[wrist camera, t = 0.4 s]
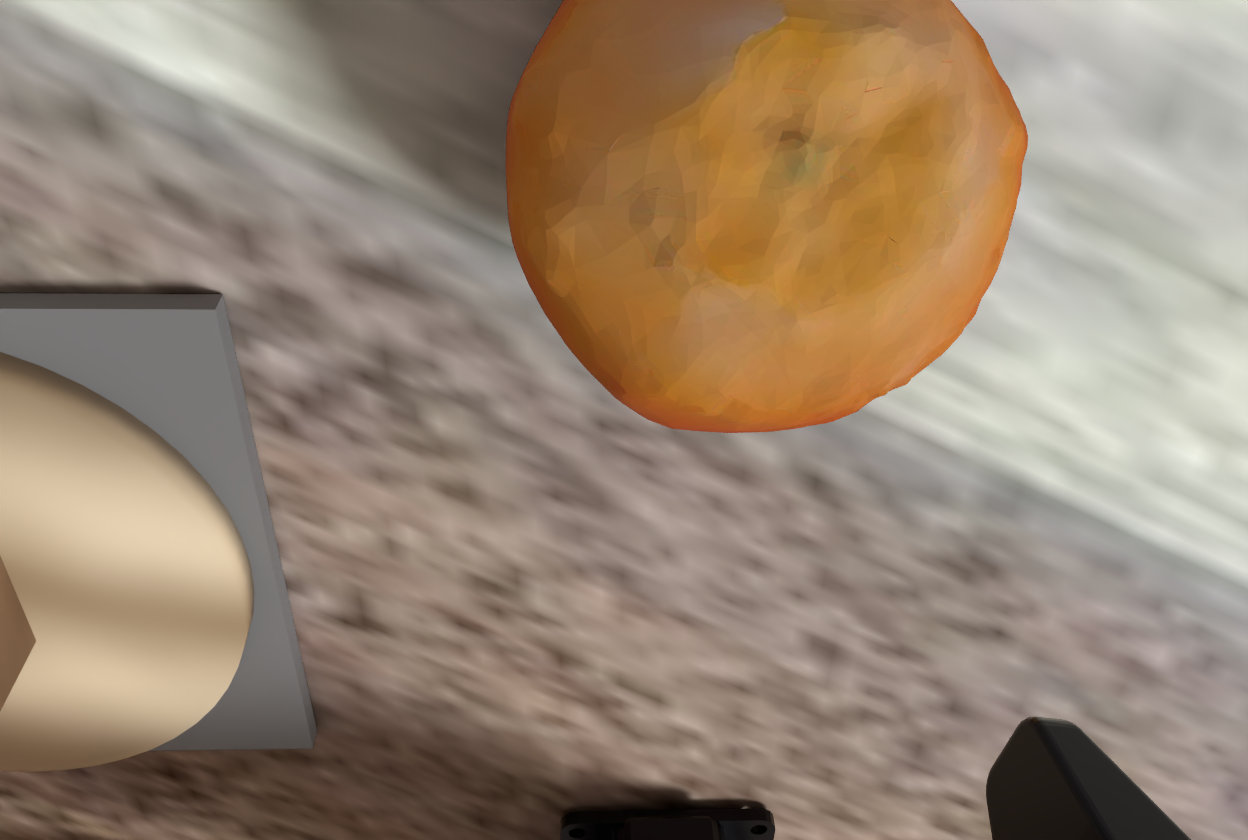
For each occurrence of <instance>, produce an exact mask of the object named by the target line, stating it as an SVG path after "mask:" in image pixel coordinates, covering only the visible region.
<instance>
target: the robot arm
mask: <svg viewBox="0 0 1248 840" xmlns="http://www.w3.org/2000/svg"><path fill="white" fill-rule="evenodd" d="M986 798H987V806H988V812H989V819H990V826H991V833H992V839H993V840H1191V839H1190V838H1189V837H1188V836H1187V835H1186V834H1185V833H1184V832H1183V831H1182V830H1181V829H1180V828H1179V827H1178V826H1177V825H1176V824H1175V823H1174V822H1173V821H1172V820H1171V819H1170V818H1169V817H1168V816H1167V815H1166V814H1165V813H1164V812H1163V811H1162V810H1161V809H1160V808H1159V807H1158V806H1157V805H1156V804H1155V803H1154V802H1153V801H1152V800H1151V799H1150V798H1149V797H1148V796H1147V795H1146V794H1145V793H1144V792H1143V791H1142V790H1141V789H1140V788H1139V787H1138V786H1137V785H1136V784H1135V783H1134V782H1133V781H1132V780H1131V779H1130V778H1129V777H1128V776H1127V775H1126V774H1125V773H1124V772H1123V771H1122V770H1121V769H1120V768H1119V767H1118V766H1117V765H1116V764H1115V763H1114V762H1113V761H1112V760H1111V759H1110V758H1109V757H1108V756H1107V755H1106V754H1105V753H1104V752H1103V751H1102V750H1101V749H1100V748H1099V747H1098V746H1097V745H1096V744H1095V743H1094V742H1093V741H1092V740H1091V739H1090V738H1089V737H1088V736H1087V735H1086V734H1085V733H1084V732H1083V731H1082V730H1081V729H1080V728H1079V727H1078V726H1076V725H1075V724H1073V723H1072V722H1069V721H1066V720H1061V719H1052V718H1043V717H1028V718H1026V719H1025V720H1023V721H1021V723H1020V724H1019V725H1018V727H1017V728H1016V730H1015V731H1014V733H1013V734H1012V736H1011V738H1010V739H1009V741H1008V742H1007V744H1006V746H1005V747H1004V749H1003V750H1002V752H1001V754H1000V755H999V757H998V758H997V760H996V761H995V763H994V765H993V766H992V768H991V770H990V772H989V776H988V779H987V785H986ZM774 834H775V825H774V819H773V814H772V813H771V812H770V811H768V810H766V809H703V810H646V811H588V812H571V813H568V814H566V815H565V816H563V817H562V819H561V830H560V836H561V840H773V839H774Z"/></svg>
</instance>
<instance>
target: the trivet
mask: <svg viewBox="0 0 1248 840" xmlns="http://www.w3.org/2000/svg"><path fill="white" fill-rule="evenodd" d="M0 352H2V353H5V354H8V355H11V356H14V357H17V358H19V359H22V360H25V361H28V362H31V363H34V364H36V365H39V366H42V367H44V368H46V369H49V370H51V371H53V372H55V373H57V374H59V375H62V376H64V377H66V378H68V379H70V380H73V381H75V382H77V383H79V384H81V385H83V386H85V387H87V388H89V389H90V390H92V391H94V392H96V393H97V394H99V395H101V396H103V397H104V398H106V399H108V400H110V401H111V402H113V403H115V404H117V405H118V406H120V407H122V408H123V409H124V410H126V411H127V412H129V413H130V414H132V415H133V416H134V417H136V418H137V419H139V420H140V421H141V422H143V423H144V424H146V425H147V426H148V427H150V428H151V429H153V430H154V431H155V432H157V433H158V434H159V435H160V436H161V437H162V438H163V439H165V440H166V441H167V442H168V443H169V444H170V445H171V446H172V447H174V448H175V449H176V450H177V451H178V452H179V453H180V454H182V455H183V456H184V457H185V458H186V459H187V460H188V461H189V463H190V464H191V465H192V466H193V467H194V468H195V469H196V470H197V471H198V472H199V474H200V475H201V476H202V477H203V478H204V479H205V480H206V481H207V482H208V483H209V485H210V486H211V488H212V489H213V490H214V492H215V493H216V495H217V496H218V497H219V499H220V500H221V502H222V503H223V505H224V506H225V507H226V509H227V510H228V512H229V514H230V516H231V518H232V520H233V522H234V524H235V525H236V527H237V529H238V531H239V533H240V535H241V537H242V540H243V543H244V546H245V549H246V552H247V555H248V558H249V561H250V564H251V570H252V577H253V584H254V610H253V617H252V621H251V625H250V629H249V633H248V637H247V640H246V644H245V647H244V650H243V653H242V657H241V660H240V663H239V666H238V669H237V671H236V673H235V675H234V677H233V679H232V681H231V683H230V685H229V687H228V689H227V690H226V692H225V693H224V694H223V696H222V697H221V698H220V700H219V701H218V702H217V704H216V705H215V706H214V707H213V708H212V709H211V710H210V711H209V712H208V713H207V714H206V715H205V716H204V717H203V718H202V719H201V720H200V721H199V722H197V723H196V724H195V725H193V726H192V727H190V728H189V729H187V730H186V731H185V732H183V733H182V734H180V735H179V736H177V737H176V738H174V739H172V740H170V741H168V742H166V743H164V744H162V745H160V746H158V747H156V748H154V749H151V750H149V751H179V750H248V749H313V747H314V743H315V738H316V734H317V727H316V723H315V718H314V713H313V709H312V704H311V699H310V695H309V690H308V686H307V681H306V676H305V672H304V667H303V662H302V658H301V653H300V649H299V644H298V639H297V635H296V630H295V626H294V621H293V616H292V612H291V607H290V602H289V598H288V593H287V589H286V584H285V579H284V575H283V570H282V565H281V561H280V556H279V552H278V547H277V542H276V538H275V533H274V529H273V524H272V519H271V515H270V510H269V505H268V501H267V496H266V492H265V487H264V482H263V478H262V473H261V468H260V464H259V459H258V455H257V450H256V445H255V441H254V436H253V432H252V427H251V422H250V418H249V413H248V408H247V404H246V399H245V395H244V390H243V385H242V381H241V376H240V371H239V367H238V362H237V358H236V353H235V348H234V344H233V339H232V334H231V330H230V325H229V321H228V316H227V311H226V307H225V302H224V298H223V294H57V293H0Z"/></svg>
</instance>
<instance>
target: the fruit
mask: <svg viewBox="0 0 1248 840" xmlns="http://www.w3.org/2000/svg"><path fill="white" fill-rule="evenodd" d="M1027 143H1028V135H1027V130H1026V126H1025V124H1024V122H1023V120H1022V117H1021V114H1020V111H1019V109H1018V107H1017V105H1016V103H1015V101H1014V99H1013V97H1012V94H1011V92H1010V89H1009V88H1008V86H1007V85H1006V83H1005V82H1004V80H1003V79H1002V77H1001V76H1000V75H999V73H998V71H997V69H996V68H995V66H994V64H993V62H992V59H991V57H990V55H989V52H988V50H987V48H986V45H985V43H984V41H983V39H982V37H981V36H980V35H979V34H978V32H977V31H976V30H975V29H974V28H973V26H972V25H971V24H970V23H969V22H968V21H967V20H966V18H965V17H964V16H963V15H962V13H961V12H960V11H959V10H958V8H957V7H956V6H955V5H954V3H953V2H952V1H951V0H563V2H562V4H561V5H560V7H559V9H558V10H557V12H556V14H555V15H554V17H553V19H552V20H551V22H550V24H549V26H548V27H547V29H546V31H545V32H544V34H543V36H542V37H541V39H540V41H539V43H538V44H537V46H536V48H535V50H534V52H533V54H532V56H531V58H530V60H529V62H528V64H527V66H526V68H525V70H524V72H523V74H522V76H521V78H520V81H519V83H518V85H517V88H516V90H515V92H514V95H513V97H512V101H511V104H510V109H509V114H508V122H507V134H506V185H507V205H508V218H509V226H510V231H511V237H512V242H513V245H514V248H515V251H516V254H517V257H518V260H519V262H520V265H521V267H522V270H523V272H524V274H525V277H526V279H527V281H528V283H529V286H530V287H531V289H532V291H533V293H534V295H535V296H536V298H537V300H538V302H539V304H540V305H541V307H542V309H543V311H544V313H545V314H546V316H547V317H548V319H549V320H550V322H551V323H552V325H553V326H554V328H555V329H556V330H557V332H558V333H559V335H560V336H561V338H562V339H563V341H564V342H565V344H566V345H567V346H568V348H569V349H570V350H571V351H572V353H573V354H574V355H575V356H576V357H577V359H578V360H579V361H580V362H581V363H582V364H583V366H584V367H585V368H586V369H587V370H588V371H589V372H590V373H591V374H592V375H593V376H594V377H595V378H596V379H597V380H598V381H599V382H600V383H601V384H602V385H603V386H604V387H605V388H606V389H607V390H608V391H609V392H610V393H611V394H612V395H613V396H614V397H615V398H616V399H618V400H619V401H620V402H622V403H623V404H625V405H626V406H627V407H629V408H630V409H632V410H634V411H635V412H637V413H638V414H640V415H641V416H643V417H645V418H646V419H648V420H651V421H653V422H656V423H658V424H661V425H664V426H666V427H669V428H672V429H682V430H692V431H705V432H723V433H739V432H770V431H780V430H787V429H796V428H801V427H806V426H810V425H817V424H824V423H828V422H832V421H835V420H837V419H840V418H842V417H845V416H847V415H849V414H852V413H854V412H857V411H858V410H859V409H861V408H862V407H863V406H865V405H866V404H867V403H869V402H870V401H872V400H873V399H875V398H877V397H880V396H883V395H885V394H887V392H888V391H891V390H893V389H895V388H898V387H901V386H903V385H906V384H907V383H908V382H909V381H910V380H911V378H912V377H914V376H915V375H916V374H917V373H919V372H920V371H921V370H923V369H924V368H925V367H927V366H928V365H929V364H930V363H932V362H933V361H934V360H935V359H937V358H938V357H939V356H941V355H942V354H943V353H944V352H945V351H946V350H947V349H948V348H949V347H950V346H951V345H952V343H953V342H954V341H955V340H956V339H957V338H958V337H959V336H960V334H961V333H962V332H963V330H964V328H965V327H966V325H967V324H968V323H969V322H970V321H971V320H972V318H973V317H974V315H975V314H976V311H977V308H978V306H979V303H980V301H981V298H982V297H983V295H984V294H985V292H986V290H987V289H988V287H989V286H990V284H991V282H992V280H993V278H994V276H995V273H996V271H997V269H998V266H999V264H1000V261H1001V258H1002V255H1003V251H1004V248H1005V245H1006V242H1007V240H1008V235H1009V230H1010V227H1011V223H1012V219H1013V215H1014V212H1015V209H1016V204H1017V198H1018V195H1019V191H1020V186H1021V176H1022V164H1023V160H1024V157H1025V153H1026V150H1027Z"/></svg>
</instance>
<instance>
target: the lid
mask: <svg viewBox="0 0 1248 840" xmlns="http://www.w3.org/2000/svg"><path fill="white" fill-rule="evenodd" d="M253 610H254V584H253V577H252V570H251V564H250V561H249V558H248V555H247V552H246V549H245V546H244V543H243V540H242V537H241V535H240V533H239V531H238V529H237V527H236V525H235V524H234V522H233V520H232V518H231V516H230V514H229V512H228V510H227V509H226V507H225V506H224V505H223V503H222V502H221V500H220V499H219V497H218V496H217V495H216V493H215V492H214V490H213V489H212V488H211V486H210V485H209V483H208V482H207V481H206V480H205V479H204V478H203V477H202V476H201V475H200V474H199V472H198V471H197V470H196V469H195V468H194V467H193V466H192V465H191V464H190V463H189V461H188V460H187V459H186V458H185V457H184V456H183V455H182V454H180V453H179V452H178V451H177V450H176V449H175V448H174V447H172V446H171V445H170V444H169V443H168V442H167V441H166V440H165V439H163V438H162V437H161V436H160V435H159V434H158V433H157V432H155V431H154V430H153V429H151V428H150V427H148V426H147V425H146V424H144V423H143V422H141V421H140V420H139V419H137V418H136V417H134V416H133V415H132V414H130V413H129V412H127V411H126V410H124V409H123V408H122V407H120V406H118V405H117V404H115V403H113V402H111V401H110V400H108V399H106V398H104V397H103V396H101V395H99V394H97V393H96V392H94V391H92V390H90V389H89V388H87V387H85V386H83V385H81V384H79V383H77V382H75V381H73V380H70V379H68V378H66V377H64V376H62V375H59V374H57V373H55V372H53V371H51V370H49V369H46V368H44V367H42V366H39V365H36V364H34V363H31V362H28V361H25V360H22V359H19V358H17V357H14V356H11V355H8V354H5V353H2V352H0V771H17V772H40V771H58V770H70V769H77V768H84V767H91V766H97V765H101V764H106V763H110V762H114V761H118V760H122V759H126V758H129V757H132V756H135V755H137V754H140V753H143V752H146V751H149V750H151V749H154V748H156V747H158V746H160V745H162V744H164V743H166V742H168V741H170V740H172V739H174V738H176V737H177V736H179V735H180V734H182V733H183V732H185V731H186V730H187V729H189V728H190V727H192V726H193V725H195V724H196V723H197V722H199V721H200V720H201V719H202V718H203V717H204V716H205V715H206V714H207V713H208V712H209V711H210V710H211V709H212V708H213V707H214V706H215V705H216V704H217V702H218V701H219V700H220V698H221V697H222V696H223V694H224V693H225V692H226V690H227V689H228V687H229V685H230V683H231V681H232V679H233V677H234V675H235V673H236V671H237V669H238V666H239V663H240V660H241V657H242V653H243V650H244V647H245V644H246V640H247V637H248V633H249V629H250V625H251V621H252V617H253Z"/></svg>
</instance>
